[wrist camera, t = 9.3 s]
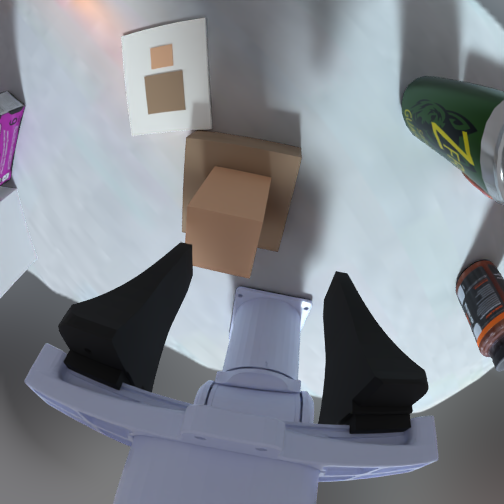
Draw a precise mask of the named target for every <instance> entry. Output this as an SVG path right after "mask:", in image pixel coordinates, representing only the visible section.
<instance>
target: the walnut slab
mask: <svg viewBox="0 0 504 504" xmlns="http://www.w3.org/2000/svg"><path fill="white" fill-rule="evenodd" d="M301 158H302V155H301V148H299V147H295V146H290V145H286V144H281V143H276V142H271V141H266V140H261V139H256V138H250V137H244V136H238V135H232V134H226V133H219V132H212V131H204V130H196V131H195V132H194V133H192V134H191V135H189V136H188V137H186V147H185V163H184V183H183V211H182V232H184V233H186V217H187V205H188V204H189V202H190V201H191V200H192V198H193V197H194V195H195V194H196V192H197V191H198V189H199V188H200V186H201V185H202V184H203V182H204V181H205V179H206V178H207V176H208V175H209V174H210V172H211V171H212V169H213V168H214V167H215V166H218V167H223V168H229V169H234V170H239V171H244V172H248V173H253V174H258V175H262V176H267V177H271V183H270V188H269V194H268V199H267V204H266V209H265V215H264V220H263V225H262V229H261V233H260V237H259V242H258V246H257V248H262V249H266V250H271V251H276V252H278V250H279V246H280V242H281V239H282V235H283V231H284V227H285V223H286V219H287V215H288V211H289V207H290V203H291V199H292V195H293V191H294V187H295V183H296V179H297V175H298V171H299V167H300V163H301Z"/></svg>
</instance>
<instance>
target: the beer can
mask: <svg viewBox="0 0 504 504" xmlns="http://www.w3.org/2000/svg"><path fill="white" fill-rule="evenodd" d="M402 115H403V118H404V120H405V123H406V126H407V127H408V128H409V130H410V131H411V133H412V134H413V135H414V136H416V137H417V138H418V139H419V140H421V141H422V142H424V143H425V144H426V145H428V146H429V147H431V148H432V149H434V150H435V151H436V152H438V153H439V154H440V155H442V156H443V157H444V158H446V159H447V160H448V161H450V162H451V163H452V164H453V165H455V166H456V167H457V168H458V169H460V170H461V171H462V172H463V173H464V174H466V175H467V176H468V177H469V178H470V179H472V180H473V181H474V182H475V183H476V184H477V185H478V186H480V187H481V188H482V189H483V190H484V191H485V192H486V193H487V194H488V195H489V196H491V197H492V198H493V199H494V200H495V201H496V202H497V203H499V204H501V205H503V206H504V91H500V90H497V89H493V88H489V87H485V86H481V85H477V84H472V83H468V82H463V81H457V80H452V79H446V78H440V77H432V76H424V77H420V78H417V79H415V80H414V81H413V82H412V83H410V84H409V85H408V87H407V89H406V91H405V92H404V95H403V100H402Z"/></svg>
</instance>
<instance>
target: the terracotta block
mask: <svg viewBox="0 0 504 504" xmlns="http://www.w3.org/2000/svg"><path fill="white" fill-rule="evenodd" d="M270 183H271V177H267V176H262V175H258V174H253V173H248V172H244V171H239V170H234V169H229V168H223V167H218V166H215V167H214V168H213V169H212V171H211V172H210V174H209V175H208V176H207V178H206V179H205V181H204V182H203V184H202V185H201V186H200V188H199V189H198V191H197V192H196V194H195V195H194V197H193V198H192V200H191V201H190V202H189V204H188V205H187V217H186V238H185V243H187V244H192V261H193V266H196V267H201V268H205V269H209V270H213V271H218V272H222V273H227V274H231V275H235V276H240V277H244V278H249V279H250V275H251V271H252V267H253V263H254V258H255V254H256V250H257V246H258V242H259V237H260V233H261V229H262V225H263V220H264V215H265V209H266V204H267V199H268V194H269V188H270Z"/></svg>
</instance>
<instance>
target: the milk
mask: <svg viewBox="0 0 504 504" xmlns="http://www.w3.org/2000/svg"><path fill="white" fill-rule="evenodd" d="M37 259H38V257H37V254H36V251H35V248H34V245H33V243H32V240H31V236H30V233H29V230H28V227H27V224H26V220H25V217H24V213H23V210H22V206H21V202H20V198H19V194H18V190H17V189H16V188H9V187H1V186H0V298H1V297H2V296H3V295H4V294H5V292H6V291H7V290H8V289H9V288H10V287H11V286H12V285H13V284H14V283H15V281H16V280H17V279H18V278H19V277H20V276H21V275H22V274H23V273H24V272H25V271H26V270H27V269H28V268H29V267H30V266H31V265H32V264H33V263H34V262H35V261H36V260H37Z"/></svg>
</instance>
